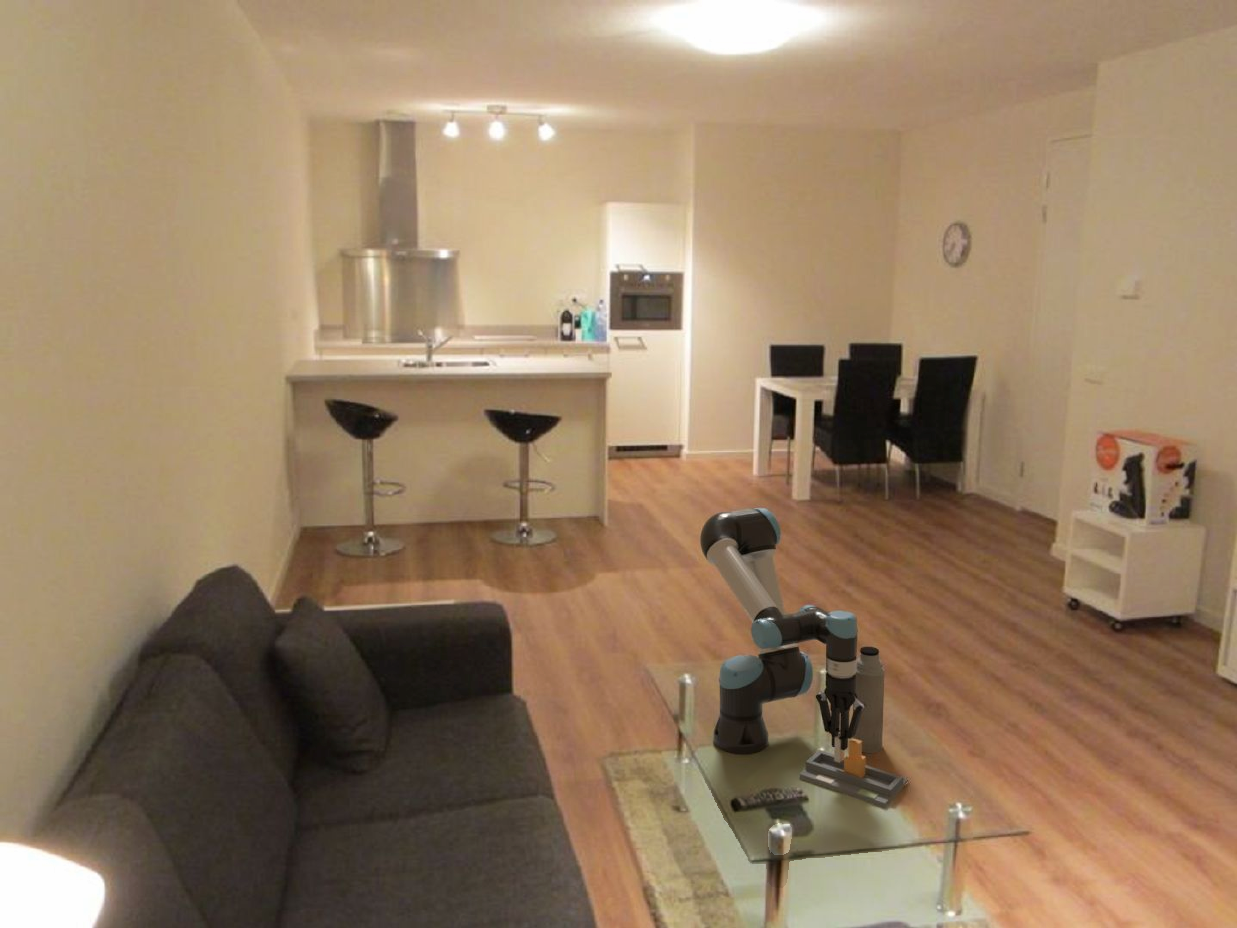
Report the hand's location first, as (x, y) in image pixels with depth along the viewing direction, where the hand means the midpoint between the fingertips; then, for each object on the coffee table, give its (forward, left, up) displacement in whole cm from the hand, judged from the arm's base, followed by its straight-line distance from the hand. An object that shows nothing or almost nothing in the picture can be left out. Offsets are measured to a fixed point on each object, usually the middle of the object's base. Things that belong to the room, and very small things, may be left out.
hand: (839, 759), depth 242 cm
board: (+4, 0, -5) cm, 6 cm away
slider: (+4, 0, -3) cm, 5 cm away
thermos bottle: (-1, +19, -5) cm, 20 cm away
